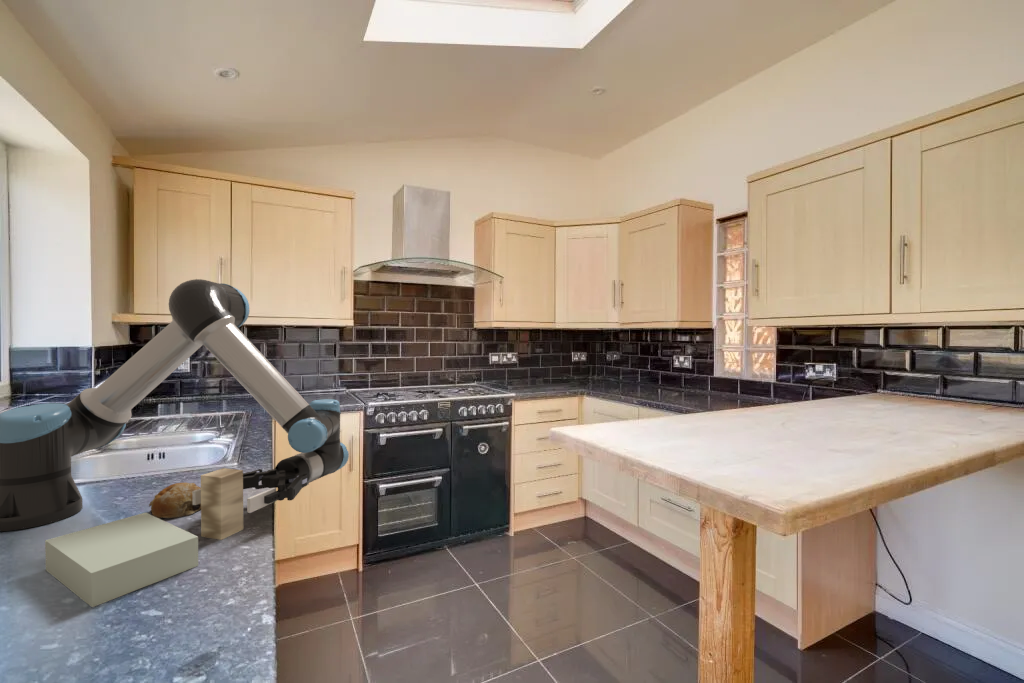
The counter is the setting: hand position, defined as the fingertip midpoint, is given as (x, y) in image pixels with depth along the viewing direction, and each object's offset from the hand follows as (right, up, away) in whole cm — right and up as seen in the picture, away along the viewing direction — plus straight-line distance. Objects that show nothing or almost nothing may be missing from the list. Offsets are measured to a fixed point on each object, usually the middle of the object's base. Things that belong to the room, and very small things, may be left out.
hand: (220, 502), depth 91 cm
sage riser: (-9, -7, -13) cm, 17 cm away
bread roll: (-17, -7, +12) cm, 22 cm away
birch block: (0, -6, +1) cm, 7 cm away
